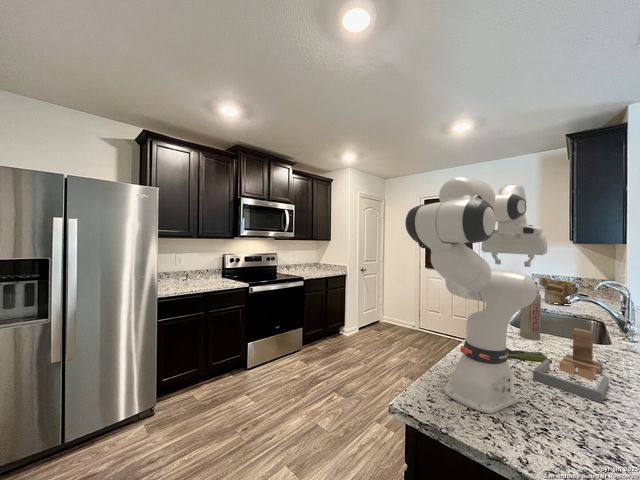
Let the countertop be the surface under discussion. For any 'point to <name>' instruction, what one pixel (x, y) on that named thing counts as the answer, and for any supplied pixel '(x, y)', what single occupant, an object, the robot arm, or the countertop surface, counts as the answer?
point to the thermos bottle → (531, 319)
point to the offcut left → (567, 366)
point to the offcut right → (586, 372)
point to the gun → (527, 356)
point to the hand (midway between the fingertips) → (512, 265)
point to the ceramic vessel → (557, 290)
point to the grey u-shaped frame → (570, 383)
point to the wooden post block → (583, 350)
